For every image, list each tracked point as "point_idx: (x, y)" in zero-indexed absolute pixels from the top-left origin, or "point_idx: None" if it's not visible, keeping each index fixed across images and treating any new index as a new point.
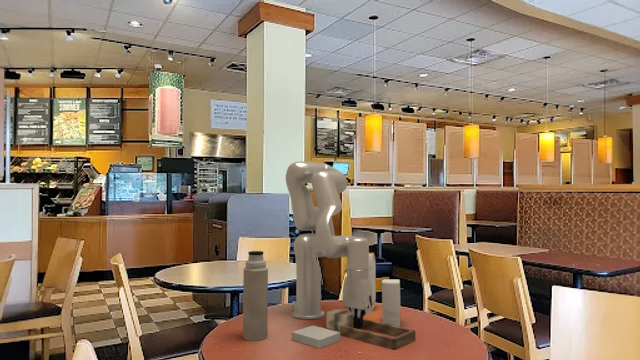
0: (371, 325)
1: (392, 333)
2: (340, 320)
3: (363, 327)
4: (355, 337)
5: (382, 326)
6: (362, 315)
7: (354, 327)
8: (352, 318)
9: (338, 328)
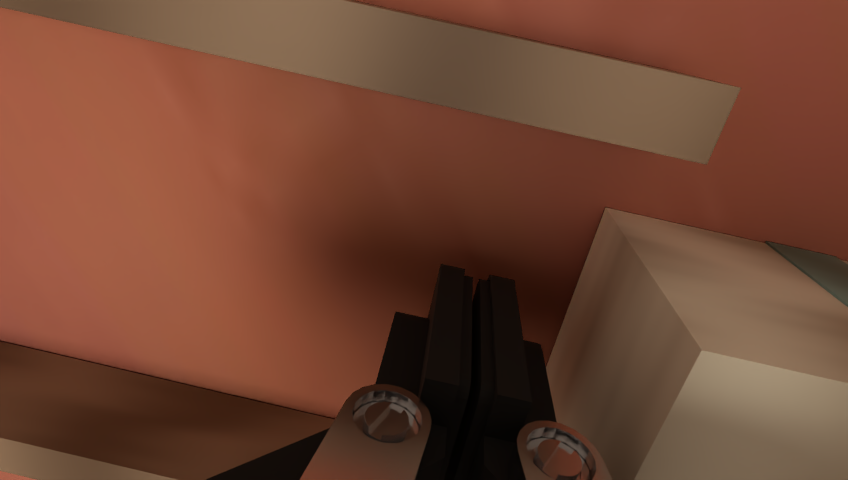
0: None
1: (66, 376)
2: (821, 320)
3: None
4: (361, 2)
5: (170, 449)
6: (303, 453)
7: (496, 280)
8: None
9: (778, 256)
